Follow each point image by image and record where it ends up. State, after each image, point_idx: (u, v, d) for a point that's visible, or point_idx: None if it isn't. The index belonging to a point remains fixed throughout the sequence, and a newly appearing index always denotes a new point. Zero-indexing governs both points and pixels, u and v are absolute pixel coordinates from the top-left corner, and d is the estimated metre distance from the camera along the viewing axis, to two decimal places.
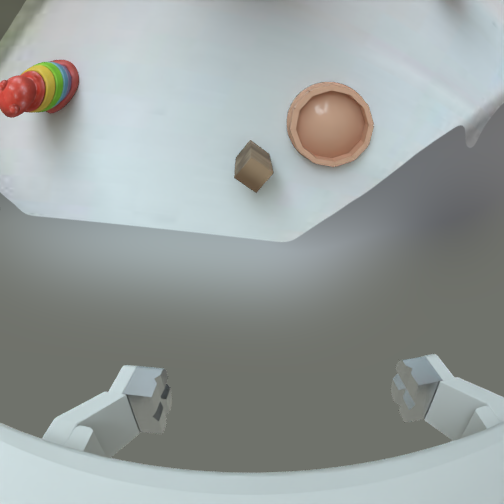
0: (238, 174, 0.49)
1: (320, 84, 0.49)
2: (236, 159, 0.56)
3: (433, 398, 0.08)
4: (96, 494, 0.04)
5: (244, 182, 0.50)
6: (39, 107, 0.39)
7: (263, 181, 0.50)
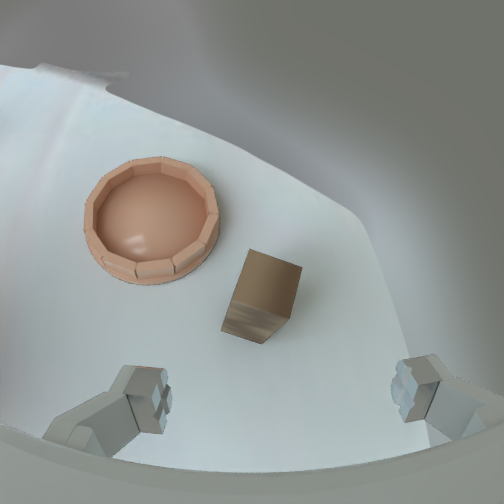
0: (279, 312, 0.23)
1: (92, 250, 0.32)
2: (262, 340, 0.30)
3: (433, 398, 0.08)
4: (96, 494, 0.04)
5: (290, 295, 0.24)
6: None
7: (274, 261, 0.25)
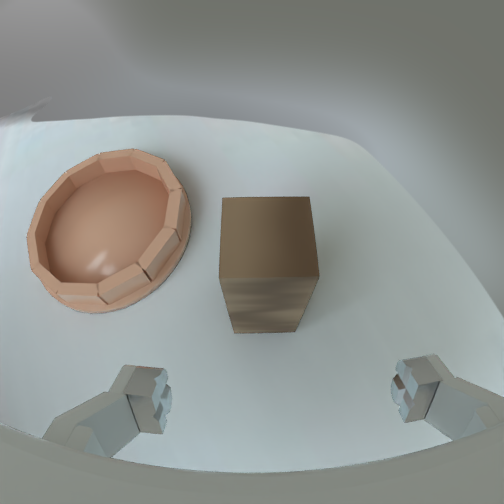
0: (299, 273, 0.14)
1: (49, 289, 0.23)
2: (293, 326, 0.21)
3: (433, 398, 0.08)
4: (96, 494, 0.04)
5: (308, 241, 0.15)
6: None
7: (264, 202, 0.16)
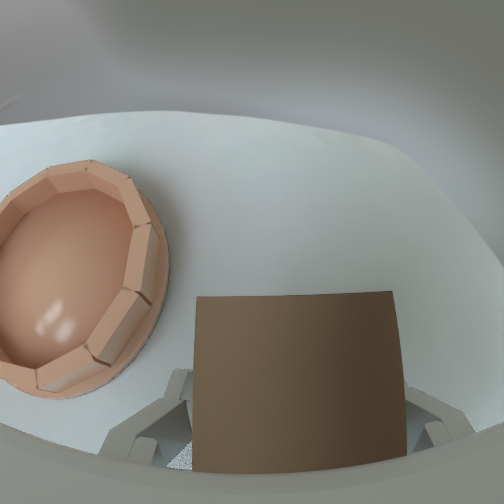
0: None
1: None
2: None
3: None
4: (96, 494, 0.04)
5: (392, 407, 0.06)
6: None
7: (295, 309, 0.07)
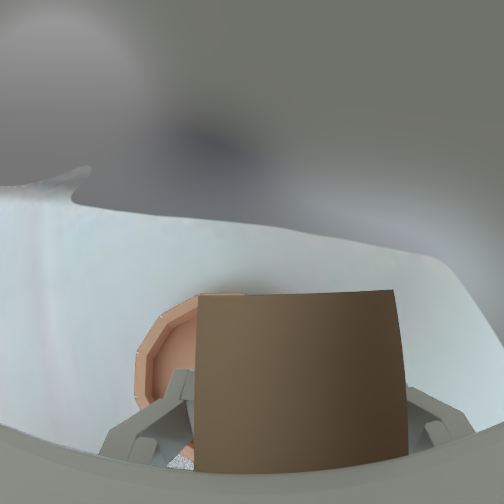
0: None
1: None
2: None
3: None
4: (96, 494, 0.04)
5: (393, 406, 0.06)
6: None
7: (296, 308, 0.07)
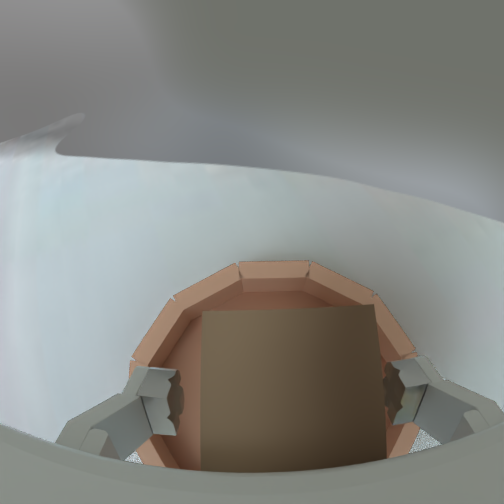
0: None
1: None
2: None
3: (422, 400, 0.08)
4: (96, 494, 0.04)
5: (372, 406, 0.07)
6: None
7: (287, 321, 0.08)
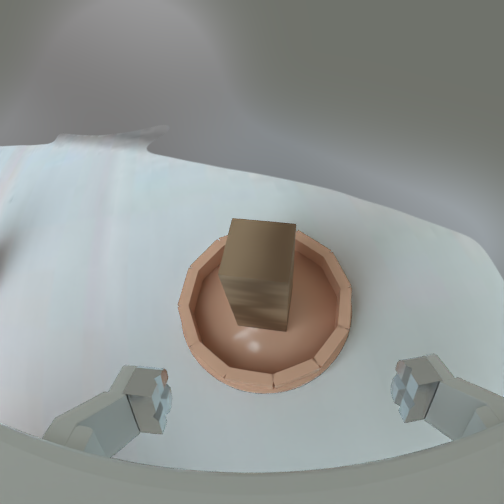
0: (275, 278, 0.19)
1: (203, 364, 0.27)
2: (283, 326, 0.26)
3: (433, 398, 0.08)
4: (96, 494, 0.04)
5: (286, 256, 0.20)
6: None
7: (261, 224, 0.22)
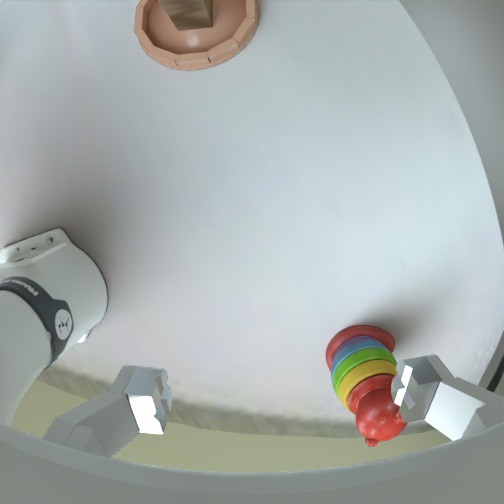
0: None
1: (160, 61, 0.33)
2: (209, 23, 0.31)
3: (433, 398, 0.08)
4: (96, 494, 0.04)
5: None
6: (391, 372, 0.35)
7: None
